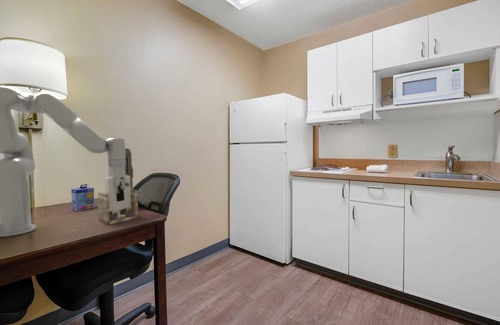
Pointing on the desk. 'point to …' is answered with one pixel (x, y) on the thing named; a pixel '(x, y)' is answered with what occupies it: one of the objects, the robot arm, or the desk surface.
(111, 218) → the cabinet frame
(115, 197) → the white rectangular block
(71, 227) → the desk surface
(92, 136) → the robot arm
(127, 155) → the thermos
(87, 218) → the desk surface
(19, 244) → the desk surface
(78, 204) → the ink cartridge box
